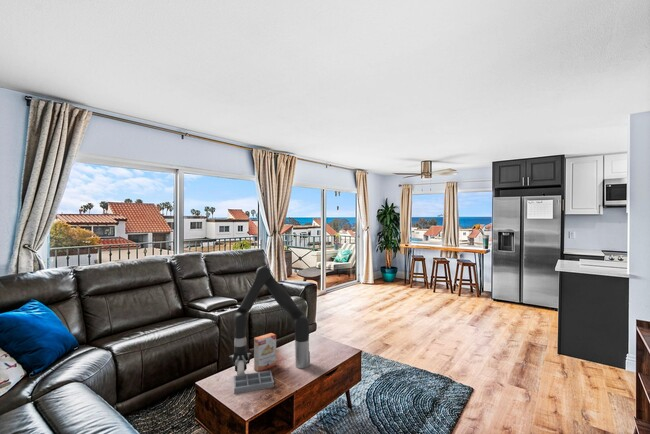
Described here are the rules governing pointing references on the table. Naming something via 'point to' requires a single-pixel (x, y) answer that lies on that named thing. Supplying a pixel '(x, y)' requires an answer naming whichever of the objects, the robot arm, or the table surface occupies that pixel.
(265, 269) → the robot arm
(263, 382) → the egg tray
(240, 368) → the egg
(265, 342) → the cracker box
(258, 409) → the table surface
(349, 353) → the table surface
